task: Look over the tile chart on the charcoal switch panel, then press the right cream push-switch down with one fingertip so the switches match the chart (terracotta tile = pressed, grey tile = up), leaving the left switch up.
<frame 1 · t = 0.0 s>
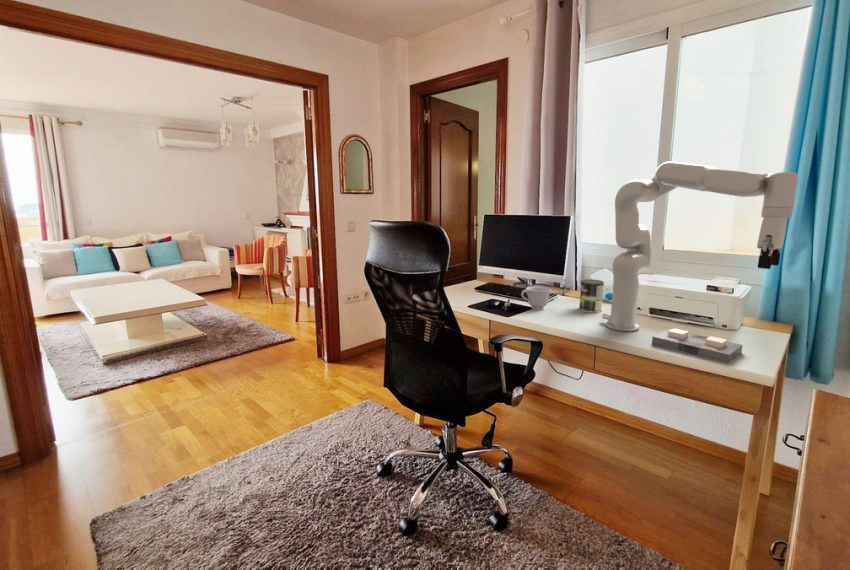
hand: (768, 266, 135), 31 cm above the table, tool pointing down, fingers open, 9 cm apart
switch panel: (695, 348, 151), on the table
switch right: (715, 343, 145), point 4 cm above the table, slide at 0.0 cm
coffee can: (590, 310, 203), on the table
teacup: (534, 309, 206), on the table
switch left: (678, 334, 155), point 4 cm above the table, slide at 0.0 cm
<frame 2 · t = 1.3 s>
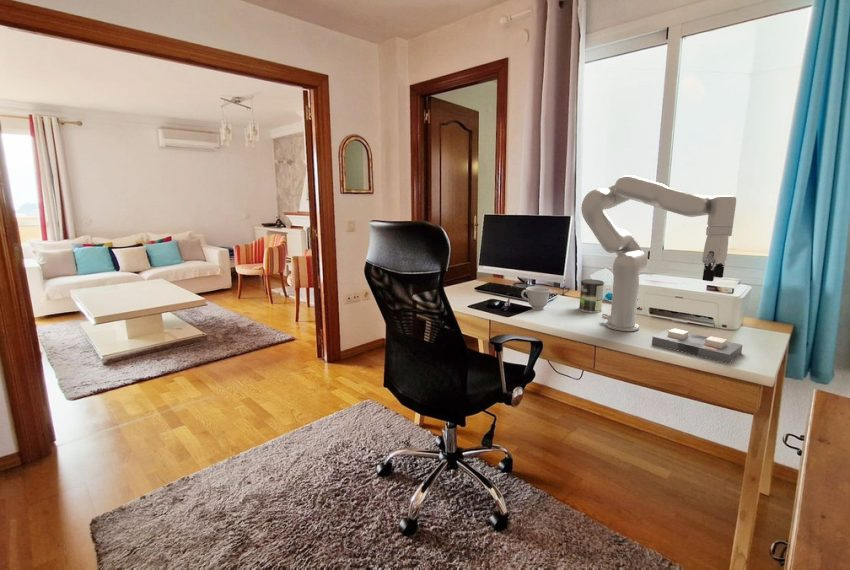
hand: (712, 278, 151), 24 cm above the table, tool pointing down, fingers open, 9 cm apart
nothing on the table moved.
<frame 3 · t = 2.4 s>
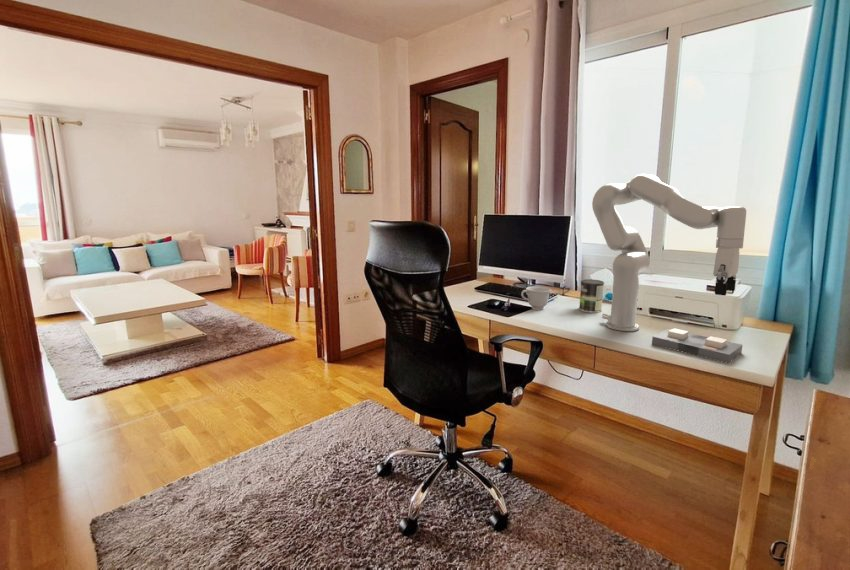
hand: (724, 292, 146), 21 cm above the table, tool pointing down, fingers open, 9 cm apart
nothing on the table moved.
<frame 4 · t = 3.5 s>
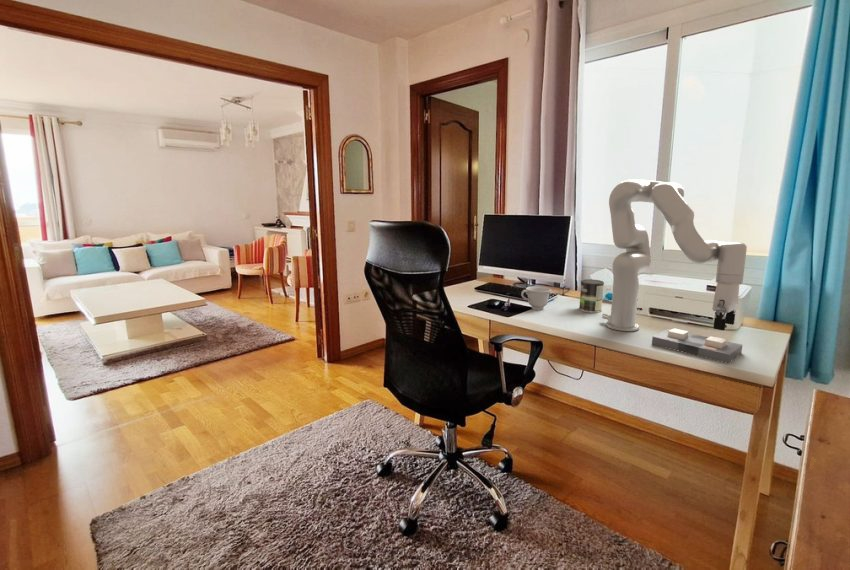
hand: (723, 326, 147), 9 cm above the table, tool pointing down, fingers open, 9 cm apart
nothing on the table moved.
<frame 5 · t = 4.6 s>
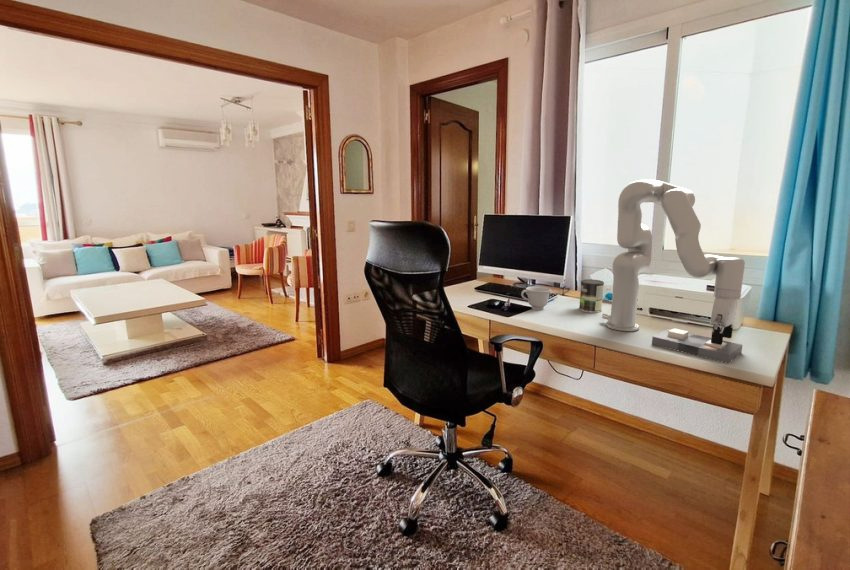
hand: (721, 340, 148), 4 cm above the table, tool pointing down, fingers open, 9 cm apart
switch right: (715, 347, 146), point 2 cm above the table, slide at 1.3 cm, touching gripper
everything else where it was.
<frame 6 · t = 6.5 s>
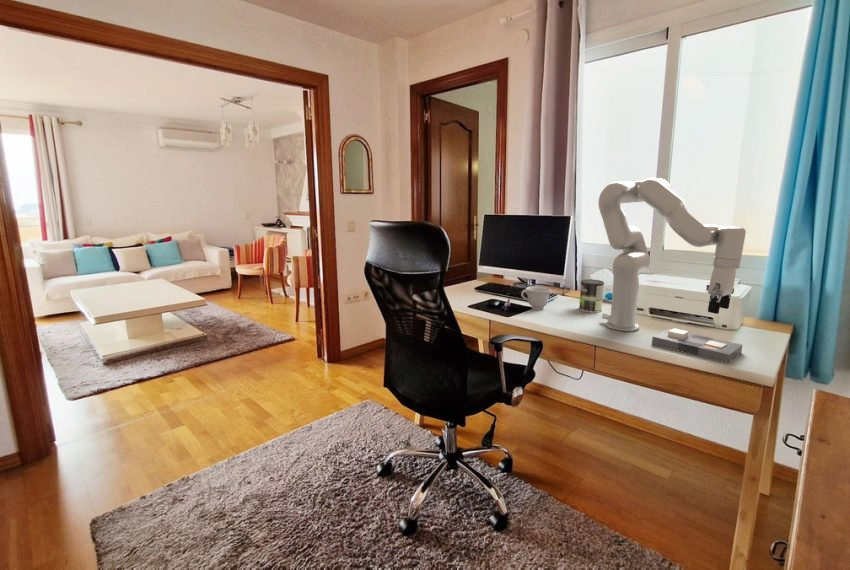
hand: (718, 310, 149), 14 cm above the table, tool pointing down, fingers open, 9 cm apart
switch right: (715, 347, 146), point 2 cm above the table, slide at 1.6 cm
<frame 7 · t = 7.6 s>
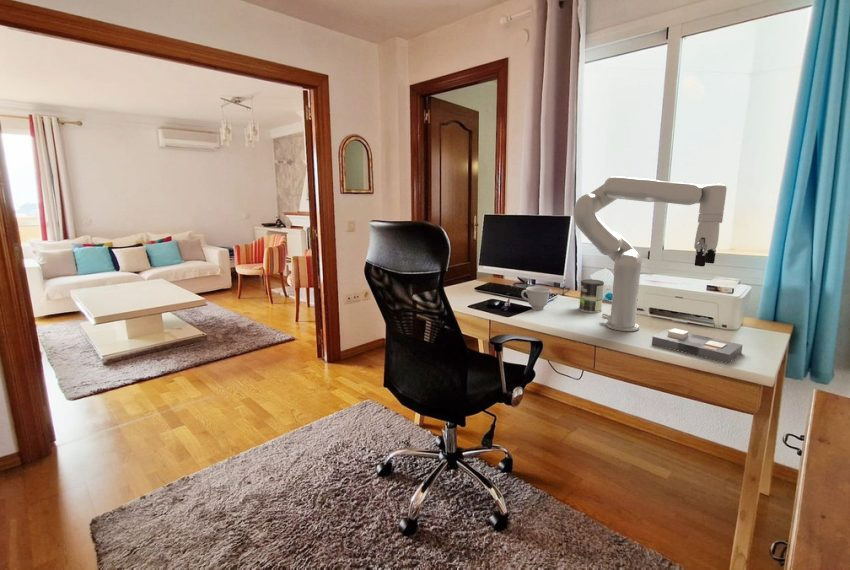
hand: (704, 264, 158), 28 cm above the table, tool pointing down, fingers open, 9 cm apart
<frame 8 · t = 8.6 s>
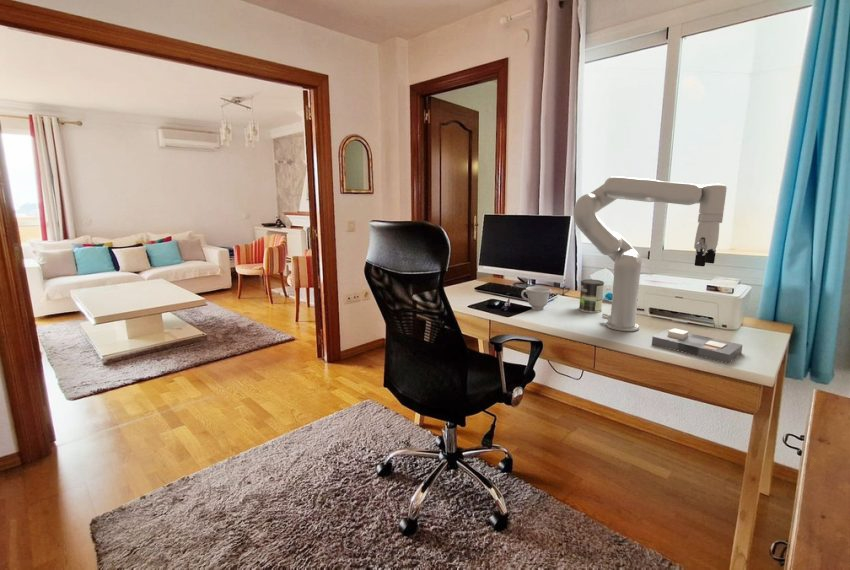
hand: (704, 264, 158), 28 cm above the table, tool pointing down, fingers open, 9 cm apart
at the end: switch right slide at 1.6 cm; switch left slide at 0.0 cm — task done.
